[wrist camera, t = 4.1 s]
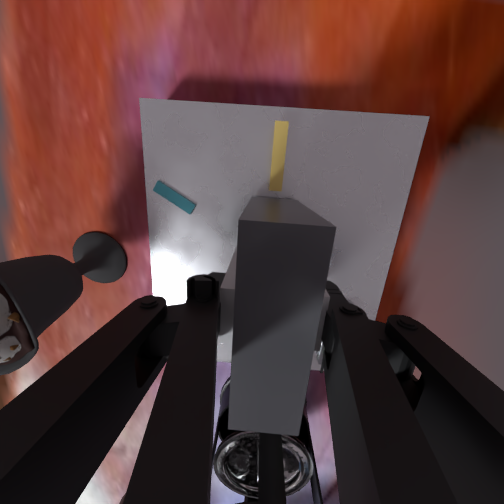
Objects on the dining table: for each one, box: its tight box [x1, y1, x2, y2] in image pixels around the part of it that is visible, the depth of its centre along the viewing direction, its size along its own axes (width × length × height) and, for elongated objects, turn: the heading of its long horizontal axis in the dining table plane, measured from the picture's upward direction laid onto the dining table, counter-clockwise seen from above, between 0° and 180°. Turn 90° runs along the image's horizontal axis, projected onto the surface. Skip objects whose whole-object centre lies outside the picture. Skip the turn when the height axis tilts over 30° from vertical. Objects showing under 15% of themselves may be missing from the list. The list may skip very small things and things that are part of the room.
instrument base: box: [139, 98, 430, 371], centre depth 18 cm, size 20×18×5 cm
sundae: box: [0, 232, 126, 375], centre depth 14 cm, size 7×7×15 cm
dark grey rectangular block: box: [228, 121, 336, 436], centre depth 12 cm, size 14×3×9 cm, turn 176°
